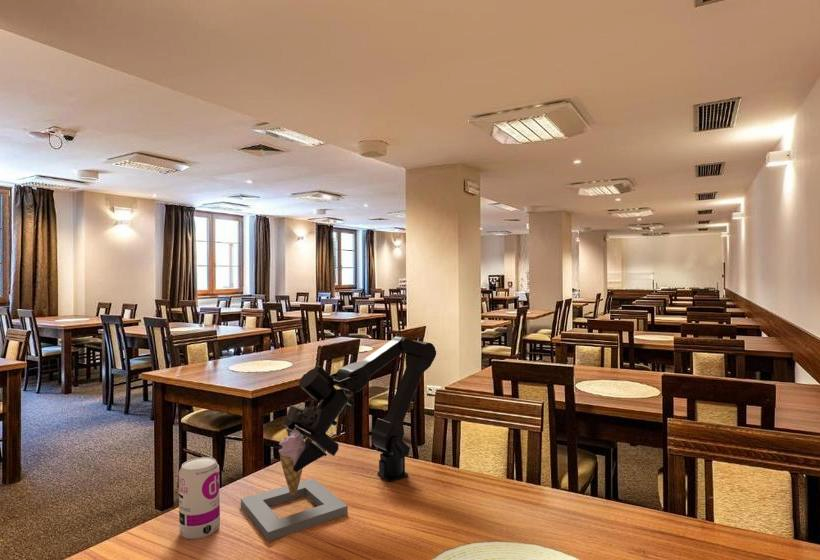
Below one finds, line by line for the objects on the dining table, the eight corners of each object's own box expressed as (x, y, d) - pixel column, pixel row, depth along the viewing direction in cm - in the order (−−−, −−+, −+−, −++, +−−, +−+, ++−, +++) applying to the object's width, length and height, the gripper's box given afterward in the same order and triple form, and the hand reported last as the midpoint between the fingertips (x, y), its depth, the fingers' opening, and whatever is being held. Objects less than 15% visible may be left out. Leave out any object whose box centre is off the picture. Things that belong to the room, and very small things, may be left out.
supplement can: (228, 524, 109) (227, 458, 109) (201, 543, 101) (200, 472, 101) (199, 518, 112) (198, 454, 111) (171, 537, 104) (169, 468, 104)
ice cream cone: (313, 493, 115) (311, 431, 115) (290, 503, 110) (289, 438, 110) (296, 485, 119) (295, 426, 119) (274, 495, 115) (273, 432, 114)
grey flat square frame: (313, 485, 128) (313, 478, 128) (347, 514, 113) (347, 505, 113) (240, 506, 117) (240, 498, 117) (268, 541, 102) (267, 532, 102)
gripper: (289, 385, 124) (248, 438, 117) (326, 399, 110) (282, 461, 103) (317, 409, 129) (279, 461, 123) (355, 426, 115) (315, 486, 108)
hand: (288, 466), depth 114 cm, fingers closed on ice cream cone, 6 cm apart
